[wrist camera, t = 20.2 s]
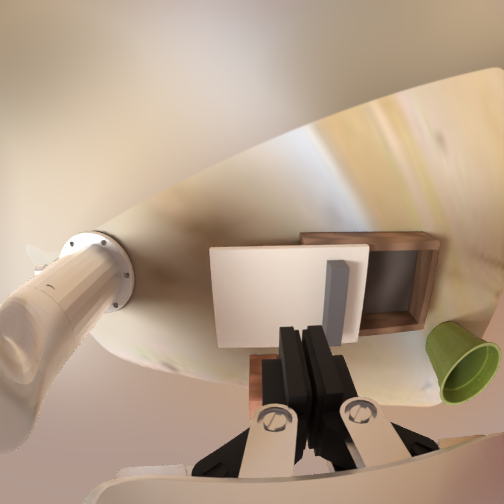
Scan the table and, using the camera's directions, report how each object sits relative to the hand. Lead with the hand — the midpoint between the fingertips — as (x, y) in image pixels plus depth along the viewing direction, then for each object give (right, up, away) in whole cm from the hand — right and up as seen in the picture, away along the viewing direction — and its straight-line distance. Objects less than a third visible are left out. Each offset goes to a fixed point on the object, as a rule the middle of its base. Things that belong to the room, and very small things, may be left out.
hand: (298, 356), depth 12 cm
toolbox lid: (+3, -1, +26) cm, 26 cm away
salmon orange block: (0, -13, +35) cm, 38 cm away
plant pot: (+31, -11, +34) cm, 47 cm away
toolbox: (+13, +1, +30) cm, 33 cm away
